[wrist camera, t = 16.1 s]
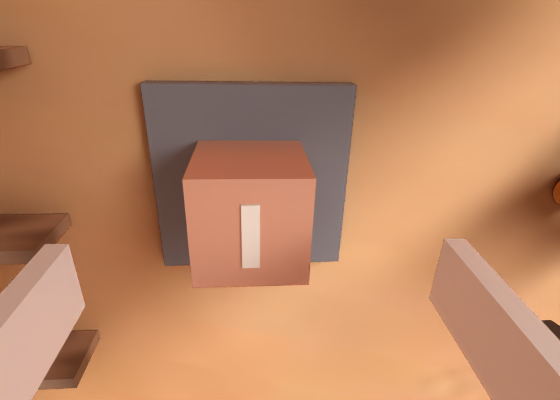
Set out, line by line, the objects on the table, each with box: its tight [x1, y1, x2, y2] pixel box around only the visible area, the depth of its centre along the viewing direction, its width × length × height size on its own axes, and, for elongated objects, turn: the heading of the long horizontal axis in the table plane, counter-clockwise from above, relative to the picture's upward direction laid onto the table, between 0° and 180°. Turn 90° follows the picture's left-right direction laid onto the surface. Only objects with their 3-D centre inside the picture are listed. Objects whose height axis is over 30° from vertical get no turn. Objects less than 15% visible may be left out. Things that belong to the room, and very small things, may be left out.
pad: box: [140, 80, 357, 266], centre depth 22 cm, size 11×11×1 cm
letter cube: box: [182, 140, 316, 288], centre depth 19 cm, size 6×6×6 cm
